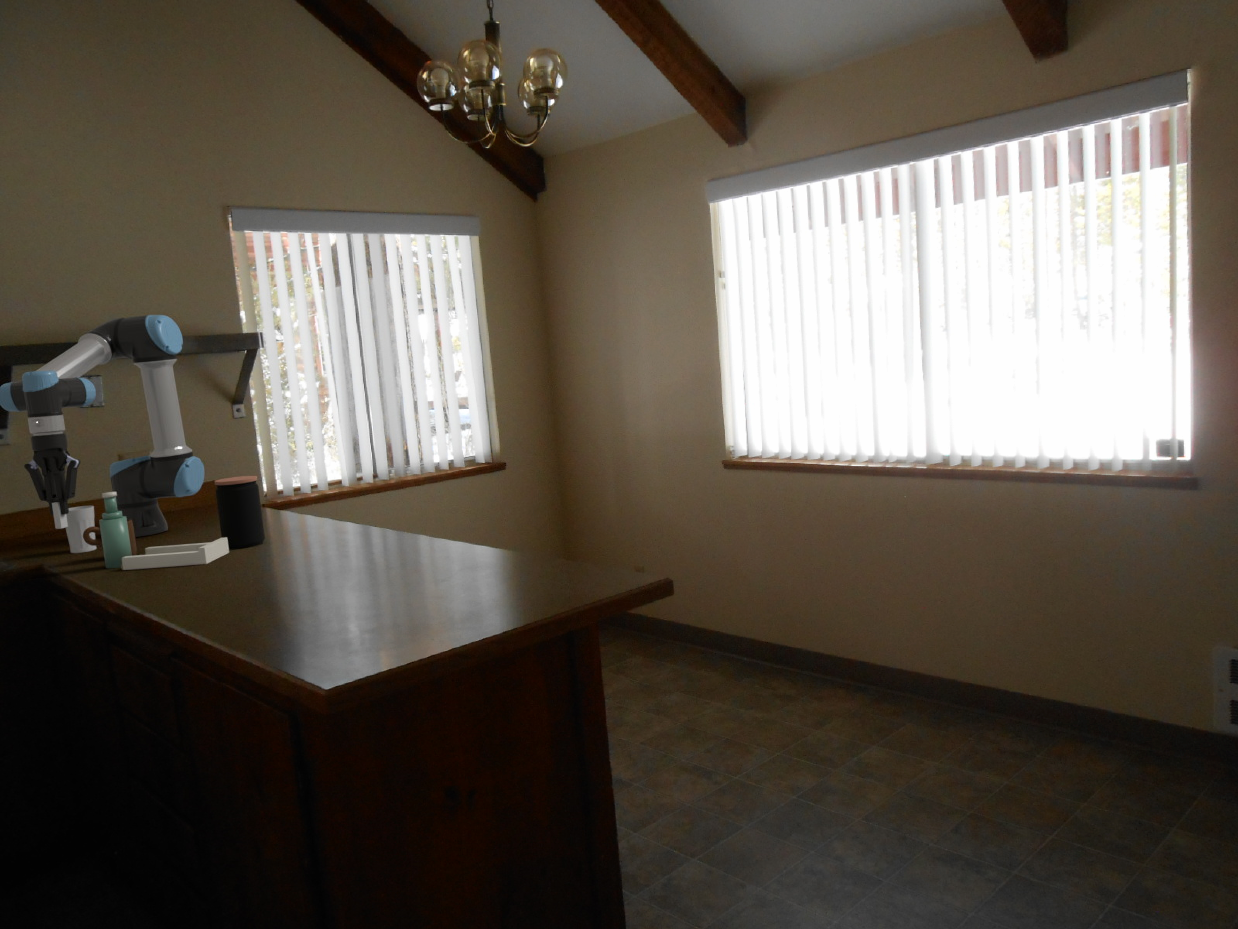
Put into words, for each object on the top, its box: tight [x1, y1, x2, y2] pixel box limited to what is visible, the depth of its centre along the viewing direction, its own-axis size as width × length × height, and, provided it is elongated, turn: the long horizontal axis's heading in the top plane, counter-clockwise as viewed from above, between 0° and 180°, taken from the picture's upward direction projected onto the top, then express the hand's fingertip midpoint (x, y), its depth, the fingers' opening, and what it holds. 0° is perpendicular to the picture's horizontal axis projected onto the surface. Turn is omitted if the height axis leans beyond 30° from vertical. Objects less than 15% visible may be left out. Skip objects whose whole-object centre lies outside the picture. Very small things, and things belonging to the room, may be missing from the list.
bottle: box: [98, 491, 132, 569], centre depth 231 cm, size 6×6×18 cm
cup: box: [65, 505, 98, 554], centre depth 259 cm, size 8×8×12 cm
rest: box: [120, 537, 230, 571], centre depth 232 cm, size 13×22×4 cm, turn 89°
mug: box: [83, 519, 138, 556], centre depth 243 cm, size 12×8×9 cm, turn 134°
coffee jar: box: [214, 475, 266, 550], centre depth 247 cm, size 11×11×18 cm
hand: (61, 527), depth 231 cm, fingers closed
